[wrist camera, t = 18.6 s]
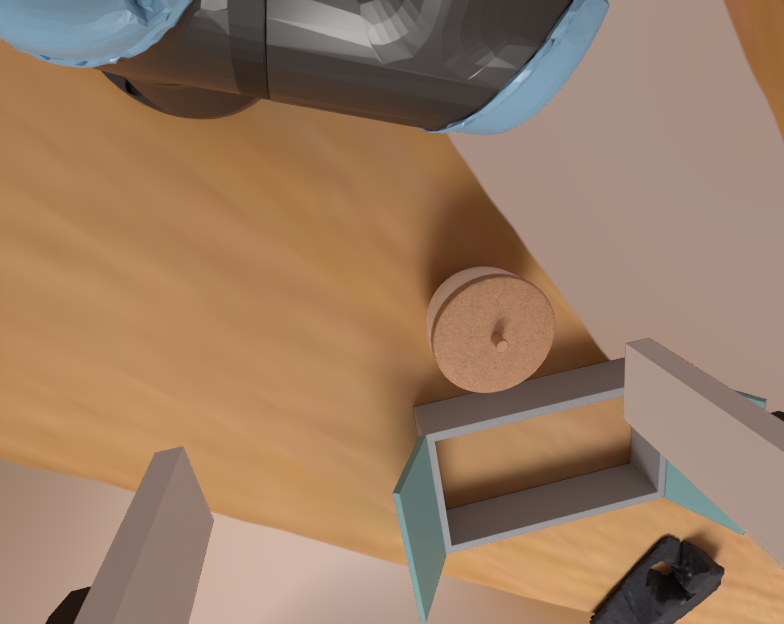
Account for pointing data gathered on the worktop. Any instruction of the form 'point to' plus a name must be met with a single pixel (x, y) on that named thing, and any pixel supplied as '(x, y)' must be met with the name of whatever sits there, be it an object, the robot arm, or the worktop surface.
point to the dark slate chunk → (663, 587)
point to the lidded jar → (489, 329)
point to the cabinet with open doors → (532, 506)
